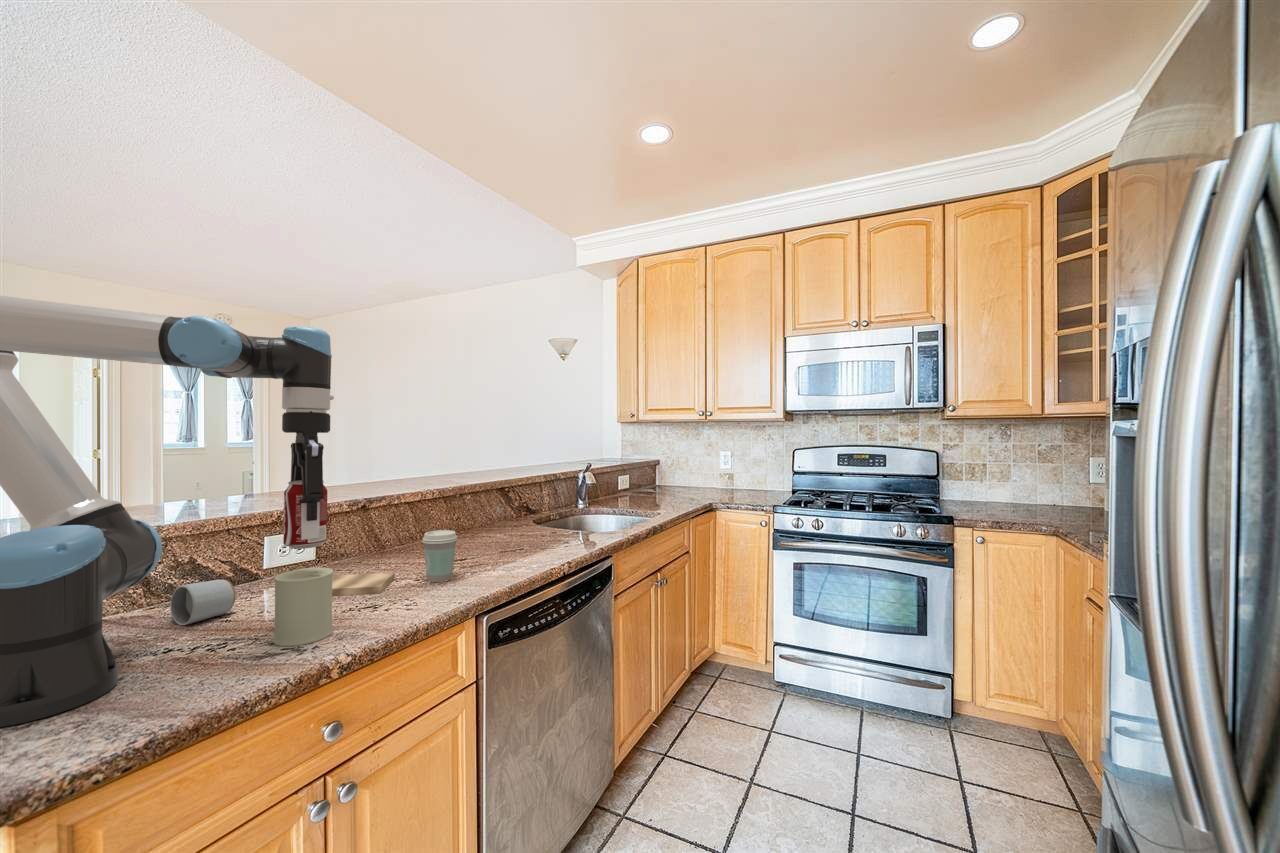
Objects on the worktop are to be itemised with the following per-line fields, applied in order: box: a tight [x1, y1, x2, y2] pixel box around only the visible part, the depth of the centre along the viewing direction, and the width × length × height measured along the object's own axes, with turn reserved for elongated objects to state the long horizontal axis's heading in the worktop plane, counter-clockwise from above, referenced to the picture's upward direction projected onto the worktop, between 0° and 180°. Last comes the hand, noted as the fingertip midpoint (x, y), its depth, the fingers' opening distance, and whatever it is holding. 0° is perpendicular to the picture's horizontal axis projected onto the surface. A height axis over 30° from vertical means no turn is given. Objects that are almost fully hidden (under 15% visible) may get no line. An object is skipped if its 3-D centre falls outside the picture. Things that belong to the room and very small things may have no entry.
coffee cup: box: [421, 529, 459, 583], centre depth 131 cm, size 8×8×12 cm
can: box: [272, 566, 334, 647], centre depth 95 cm, size 9×9×12 cm
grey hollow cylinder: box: [170, 579, 237, 626], centre depth 104 cm, size 11×8×8 cm
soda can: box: [283, 480, 328, 550], centre depth 95 cm, size 7×7×12 cm
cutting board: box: [332, 572, 396, 597], centre depth 124 cm, size 16×12×2 cm
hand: (305, 535), depth 95 cm, fingers closed on soda can, 7 cm apart
